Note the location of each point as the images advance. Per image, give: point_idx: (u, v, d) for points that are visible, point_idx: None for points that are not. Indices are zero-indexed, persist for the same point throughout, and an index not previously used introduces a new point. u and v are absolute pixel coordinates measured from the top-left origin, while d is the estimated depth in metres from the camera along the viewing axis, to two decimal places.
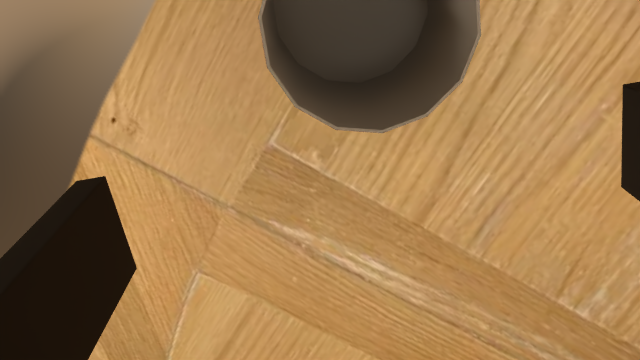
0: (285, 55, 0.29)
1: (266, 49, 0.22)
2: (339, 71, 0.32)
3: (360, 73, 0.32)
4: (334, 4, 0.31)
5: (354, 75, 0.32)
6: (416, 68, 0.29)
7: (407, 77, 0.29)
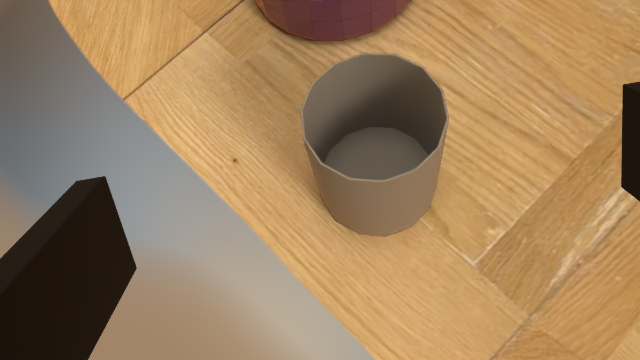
0: (395, 214, 0.38)
1: (371, 180, 0.32)
2: None
3: None
4: None
5: None
6: (425, 125, 0.39)
7: (430, 132, 0.39)
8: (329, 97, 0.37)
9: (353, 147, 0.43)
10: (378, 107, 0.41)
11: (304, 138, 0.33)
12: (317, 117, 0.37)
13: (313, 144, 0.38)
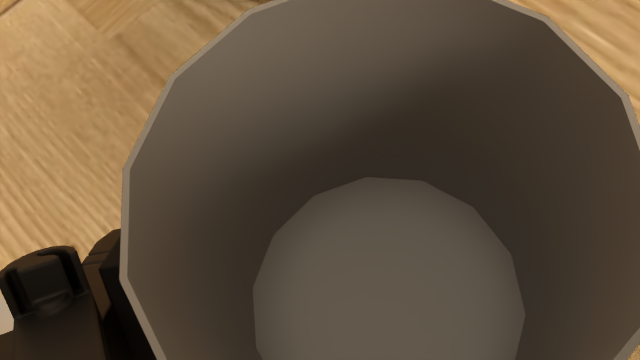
0: None
1: None
2: (497, 348, 0.17)
3: (507, 310, 0.17)
4: (375, 328, 0.17)
5: (509, 322, 0.17)
6: (510, 187, 0.15)
7: (525, 206, 0.15)
8: (250, 118, 0.13)
9: (329, 225, 0.19)
10: (387, 137, 0.16)
11: (124, 277, 0.09)
12: (217, 173, 0.13)
13: (213, 243, 0.14)
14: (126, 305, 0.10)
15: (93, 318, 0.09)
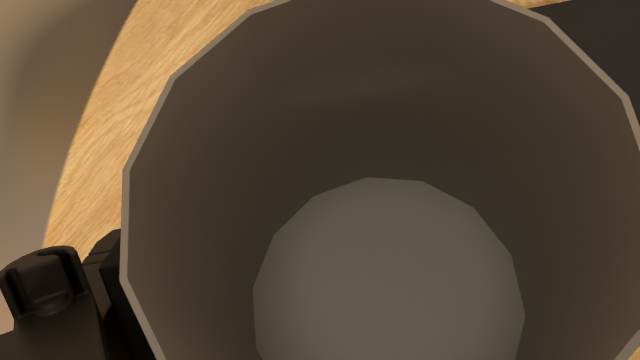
0: None
1: None
2: (497, 349, 0.17)
3: (507, 310, 0.17)
4: (375, 329, 0.17)
5: (509, 322, 0.17)
6: (510, 187, 0.15)
7: (525, 206, 0.15)
8: (250, 118, 0.13)
9: (329, 226, 0.19)
10: (387, 138, 0.16)
11: (124, 277, 0.09)
12: (217, 174, 0.13)
13: (213, 243, 0.14)
14: (126, 305, 0.10)
15: (93, 318, 0.09)
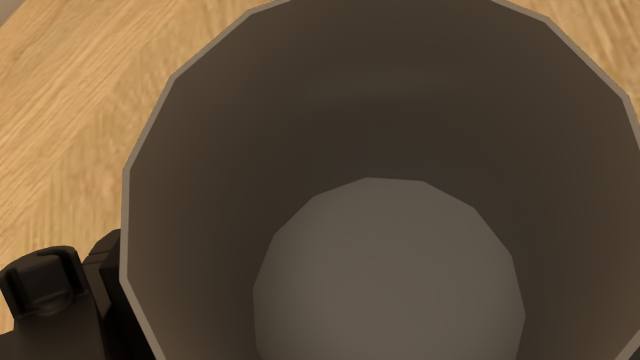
0: None
1: None
2: (497, 349, 0.17)
3: (507, 311, 0.17)
4: (375, 329, 0.17)
5: (509, 323, 0.17)
6: (510, 188, 0.15)
7: (525, 206, 0.15)
8: (250, 118, 0.13)
9: (329, 226, 0.19)
10: (387, 138, 0.16)
11: (124, 278, 0.09)
12: (217, 174, 0.13)
13: (213, 243, 0.14)
14: (126, 305, 0.10)
15: (93, 318, 0.09)
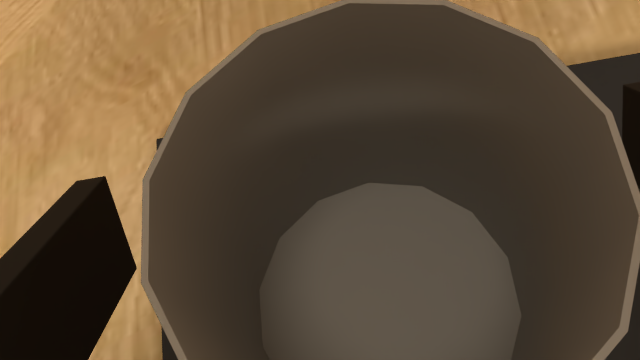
0: None
1: None
2: (494, 348, 0.18)
3: (504, 311, 0.18)
4: (377, 328, 0.18)
5: (506, 322, 0.18)
6: (506, 194, 0.16)
7: (520, 211, 0.16)
8: (258, 129, 0.14)
9: (333, 229, 0.20)
10: (389, 145, 0.17)
11: (145, 280, 0.10)
12: (228, 181, 0.14)
13: (223, 247, 0.15)
14: None
15: None
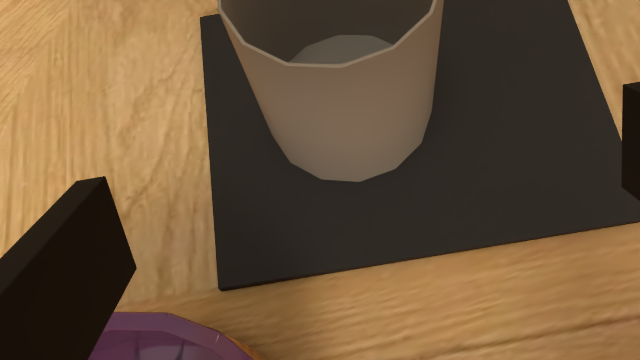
0: None
1: (322, 65, 0.20)
2: None
3: None
4: None
5: None
6: (413, 17, 0.27)
7: None
8: None
9: (315, 62, 0.31)
10: None
11: (219, 8, 0.21)
12: None
13: (250, 43, 0.26)
14: None
15: None
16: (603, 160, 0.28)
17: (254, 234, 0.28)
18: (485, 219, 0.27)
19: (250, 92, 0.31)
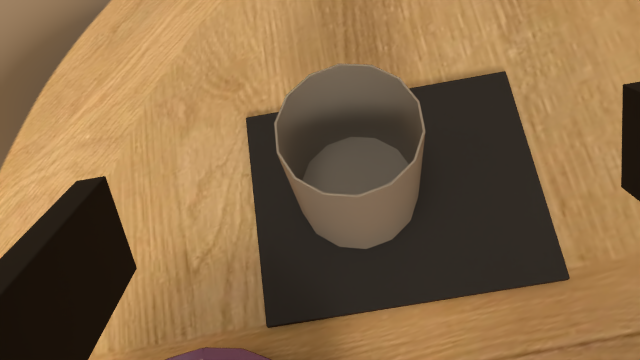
0: None
1: (346, 195, 0.31)
2: None
3: None
4: None
5: None
6: (404, 136, 0.39)
7: (410, 143, 0.38)
8: (306, 109, 0.37)
9: (334, 158, 0.42)
10: (358, 117, 0.40)
11: (278, 152, 0.33)
12: (294, 129, 0.37)
13: (290, 156, 0.38)
14: None
15: None
16: (538, 235, 0.39)
17: (291, 287, 0.40)
18: (455, 278, 0.39)
19: (285, 178, 0.43)
